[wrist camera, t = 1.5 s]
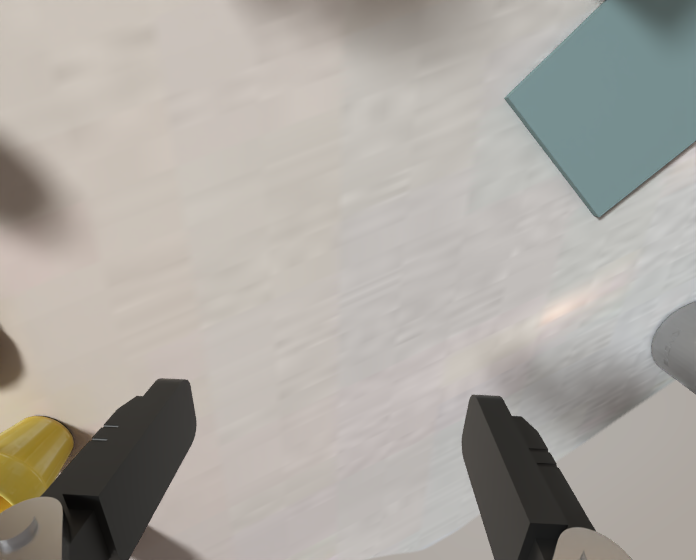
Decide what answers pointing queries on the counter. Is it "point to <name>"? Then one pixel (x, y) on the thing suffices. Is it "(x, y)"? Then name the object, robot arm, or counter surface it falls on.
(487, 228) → the counter surface
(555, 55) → the teal mat
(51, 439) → the plant pot
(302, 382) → the counter surface
